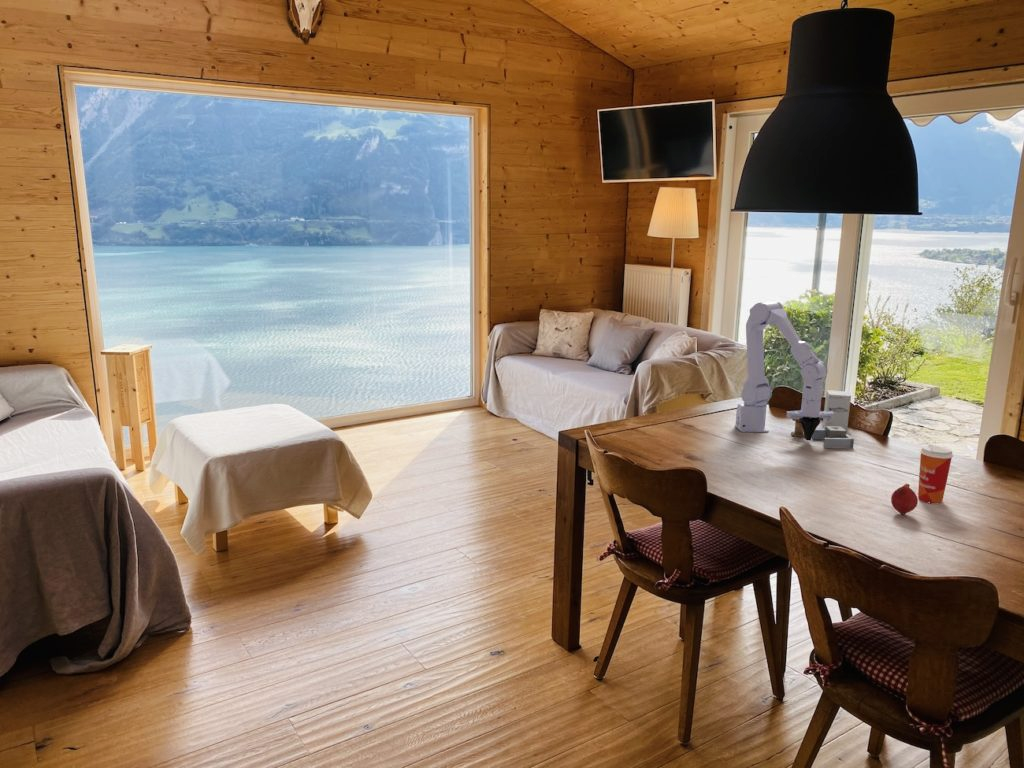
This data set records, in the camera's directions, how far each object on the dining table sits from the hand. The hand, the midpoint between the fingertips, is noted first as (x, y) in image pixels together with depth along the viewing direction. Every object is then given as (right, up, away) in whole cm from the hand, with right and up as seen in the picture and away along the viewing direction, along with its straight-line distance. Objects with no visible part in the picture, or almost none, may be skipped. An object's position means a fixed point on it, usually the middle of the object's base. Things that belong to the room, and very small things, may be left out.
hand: (807, 439), depth 249 cm
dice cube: (+9, -1, 0) cm, 9 cm away
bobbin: (0, +1, +8) cm, 8 cm away
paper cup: (+13, -12, -49) cm, 52 cm away
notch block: (+8, -1, 0) cm, 8 cm away
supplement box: (+16, +3, +18) cm, 24 cm away
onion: (+1, -15, -58) cm, 60 cm away
